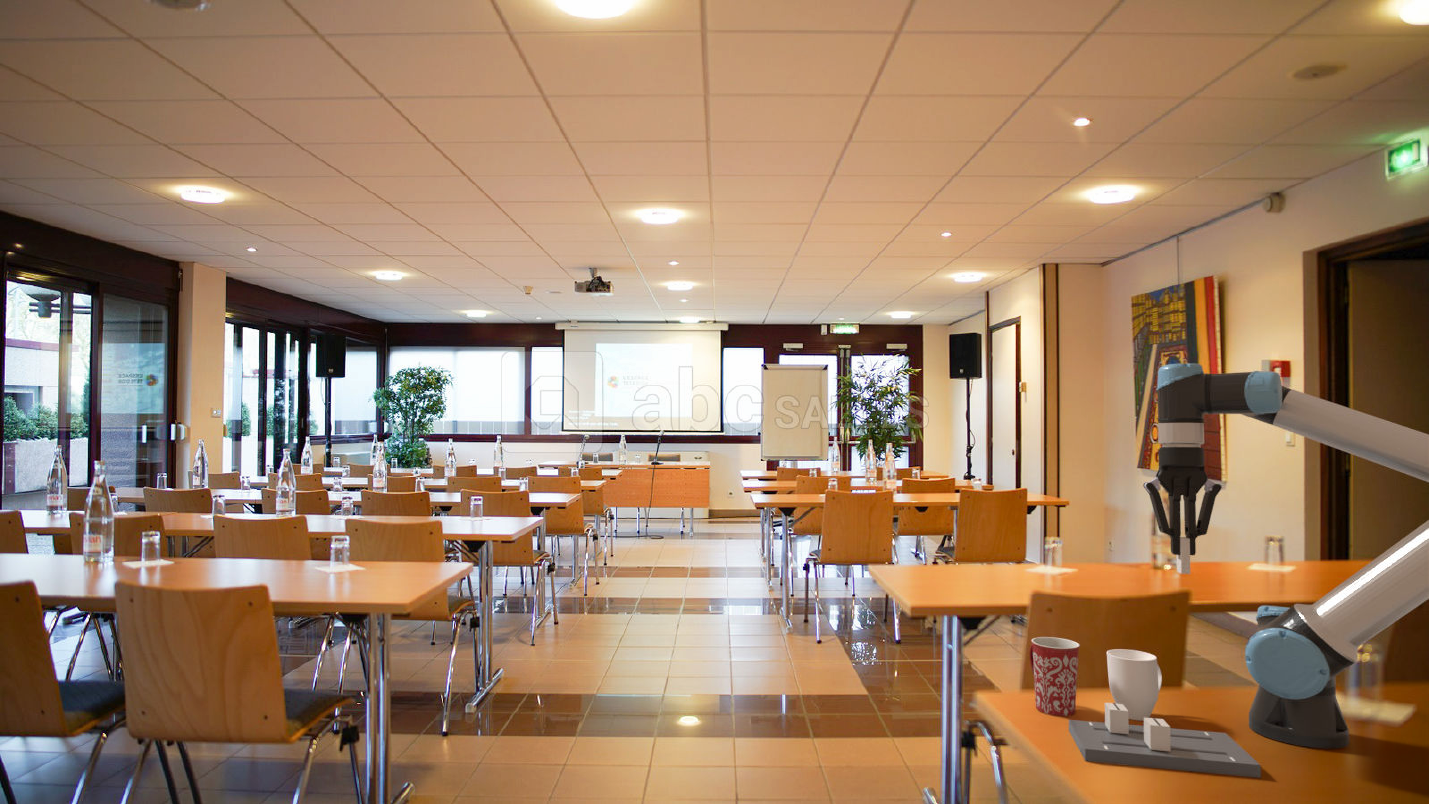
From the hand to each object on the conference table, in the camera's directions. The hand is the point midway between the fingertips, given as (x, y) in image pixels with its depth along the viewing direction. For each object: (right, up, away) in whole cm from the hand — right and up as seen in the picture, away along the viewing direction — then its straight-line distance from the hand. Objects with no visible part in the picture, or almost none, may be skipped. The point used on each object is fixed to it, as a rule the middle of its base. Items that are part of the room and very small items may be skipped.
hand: (1183, 572), depth 151 cm
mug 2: (-4, -30, +9) cm, 32 cm away
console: (-11, -29, -11) cm, 33 cm away
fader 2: (-13, -26, -14) cm, 33 cm away
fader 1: (-16, -27, -6) cm, 32 cm away
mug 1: (-20, -30, +12) cm, 38 cm away
